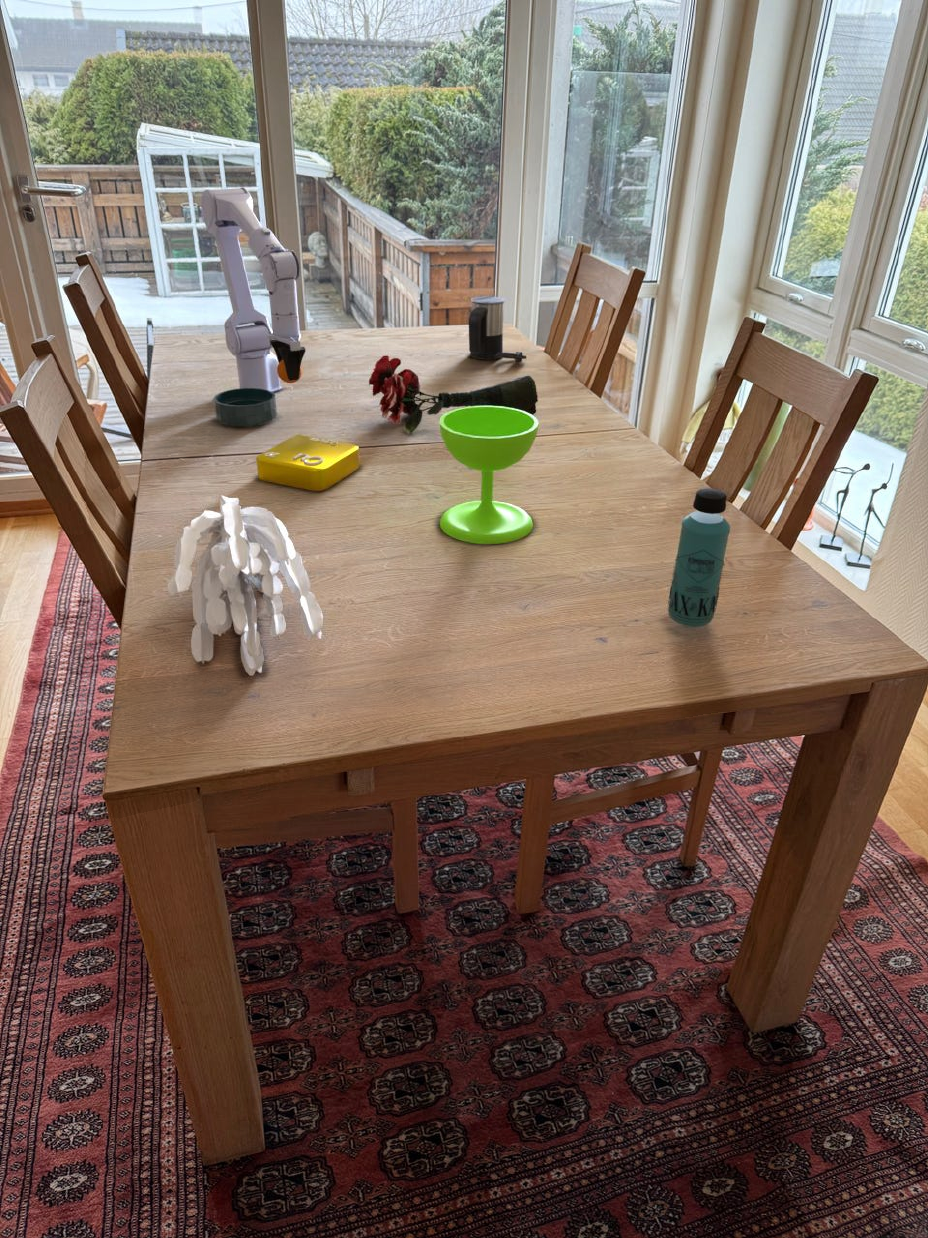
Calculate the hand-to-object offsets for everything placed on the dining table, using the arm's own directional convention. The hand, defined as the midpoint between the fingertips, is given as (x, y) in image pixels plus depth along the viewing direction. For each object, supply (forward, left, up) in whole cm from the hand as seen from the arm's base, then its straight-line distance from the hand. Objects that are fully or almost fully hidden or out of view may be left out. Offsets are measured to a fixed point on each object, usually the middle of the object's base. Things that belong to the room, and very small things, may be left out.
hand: (290, 376), depth 201 cm
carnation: (-16, +32, -9) cm, 37 cm away
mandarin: (0, 0, +1) cm, 1 cm away
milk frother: (-65, +15, -9) cm, 67 cm away
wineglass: (+26, +66, -8) cm, 72 cm away
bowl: (+9, -6, -8) cm, 13 cm away
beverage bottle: (+39, +107, -9) cm, 114 cm away
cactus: (+71, +54, -8) cm, 89 cm away
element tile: (+25, +26, -9) cm, 37 cm away
